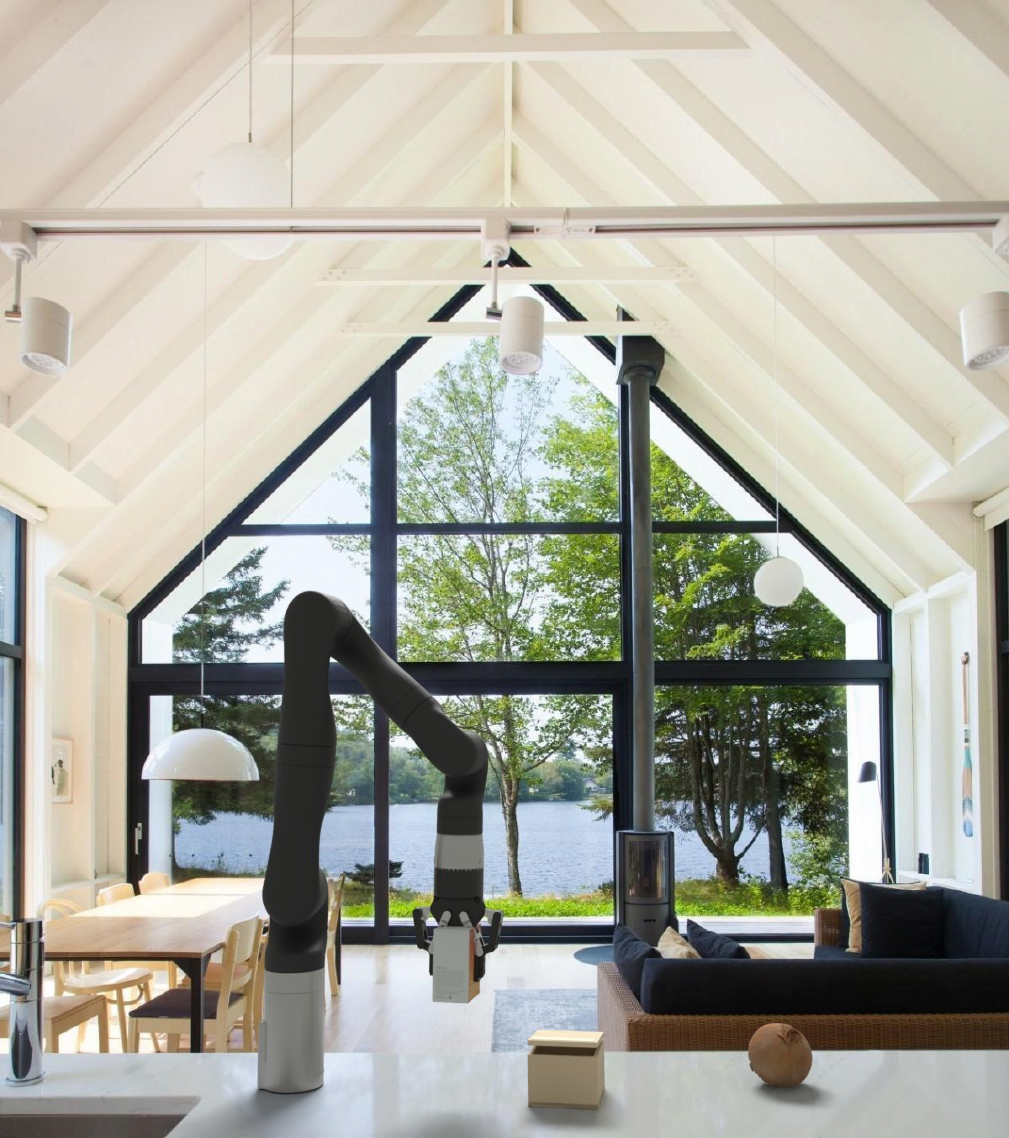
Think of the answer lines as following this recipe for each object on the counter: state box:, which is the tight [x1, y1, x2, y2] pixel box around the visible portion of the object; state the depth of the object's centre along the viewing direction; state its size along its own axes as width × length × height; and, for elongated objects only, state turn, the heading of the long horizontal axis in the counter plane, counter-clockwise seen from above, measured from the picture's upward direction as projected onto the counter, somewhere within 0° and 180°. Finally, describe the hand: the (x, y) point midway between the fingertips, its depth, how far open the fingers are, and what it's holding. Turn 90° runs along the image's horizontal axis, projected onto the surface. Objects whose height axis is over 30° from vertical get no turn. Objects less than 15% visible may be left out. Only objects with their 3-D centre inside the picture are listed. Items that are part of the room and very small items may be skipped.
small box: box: [432, 922, 482, 1004], centre depth 178 cm, size 8×6×10 cm
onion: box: [747, 1022, 813, 1089], centre depth 180 cm, size 10×9×10 cm
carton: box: [527, 1039, 606, 1110], centre depth 175 cm, size 10×10×7 cm
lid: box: [527, 1029, 605, 1048], centre depth 175 cm, size 10×10×1 cm
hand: (456, 979), depth 178 cm, fingers closed on small box, 5 cm apart
